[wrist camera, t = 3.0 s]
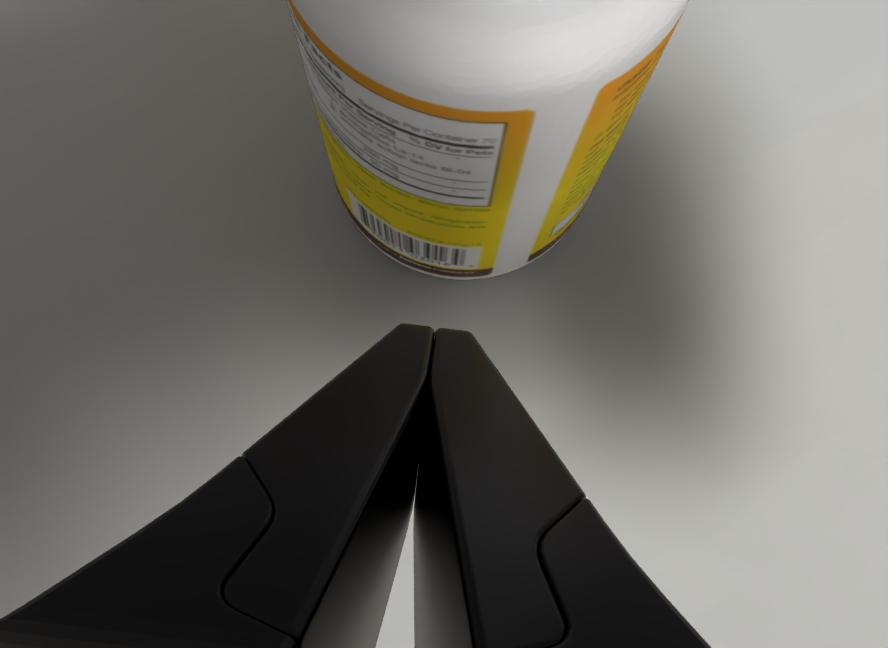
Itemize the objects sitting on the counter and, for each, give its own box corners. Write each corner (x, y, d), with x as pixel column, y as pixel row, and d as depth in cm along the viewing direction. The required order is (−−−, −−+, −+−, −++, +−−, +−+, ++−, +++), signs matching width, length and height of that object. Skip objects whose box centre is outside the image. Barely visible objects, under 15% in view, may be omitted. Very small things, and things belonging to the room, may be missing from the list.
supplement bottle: (549, 34, 18) (706, -552, 8) (617, 258, 17) (899, -115, 7) (310, 80, 18) (170, -481, 8) (361, 314, 16) (275, 2, 6)
